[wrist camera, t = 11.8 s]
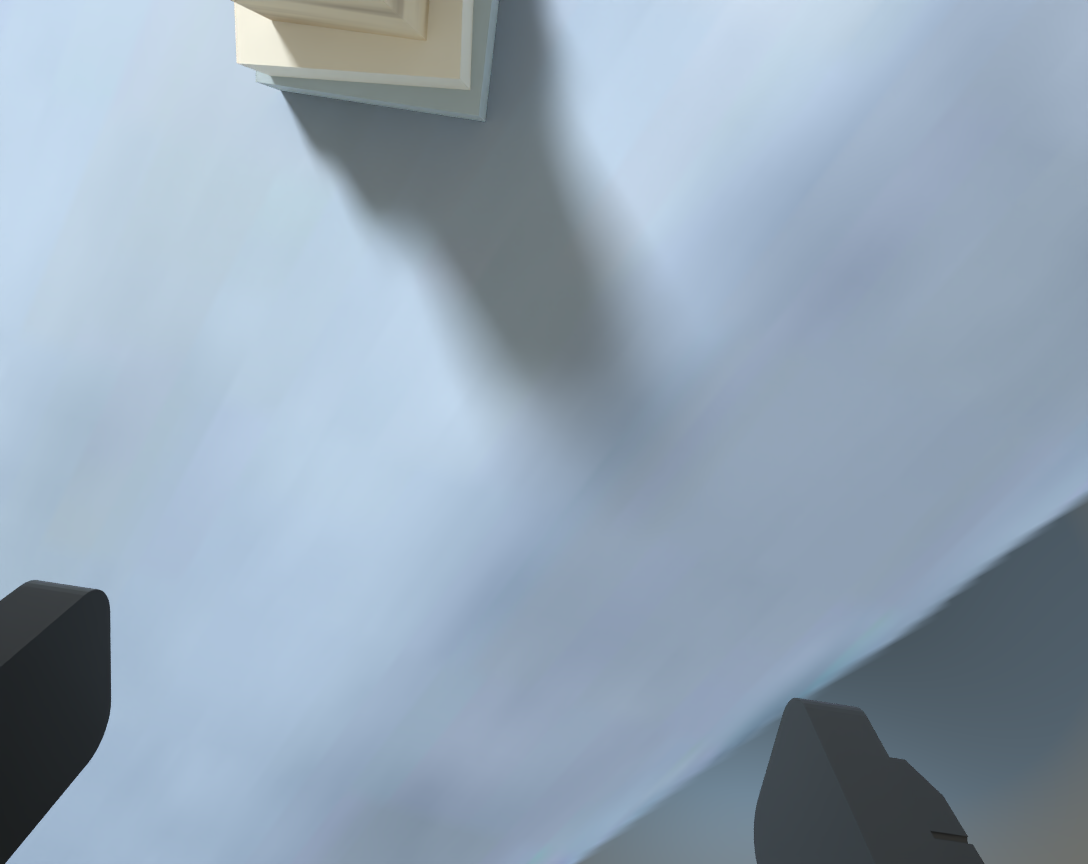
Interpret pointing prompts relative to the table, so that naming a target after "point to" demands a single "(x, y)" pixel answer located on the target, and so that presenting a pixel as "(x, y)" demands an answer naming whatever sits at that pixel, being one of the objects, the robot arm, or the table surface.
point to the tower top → (362, 50)
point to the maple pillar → (350, 15)
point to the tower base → (415, 97)
